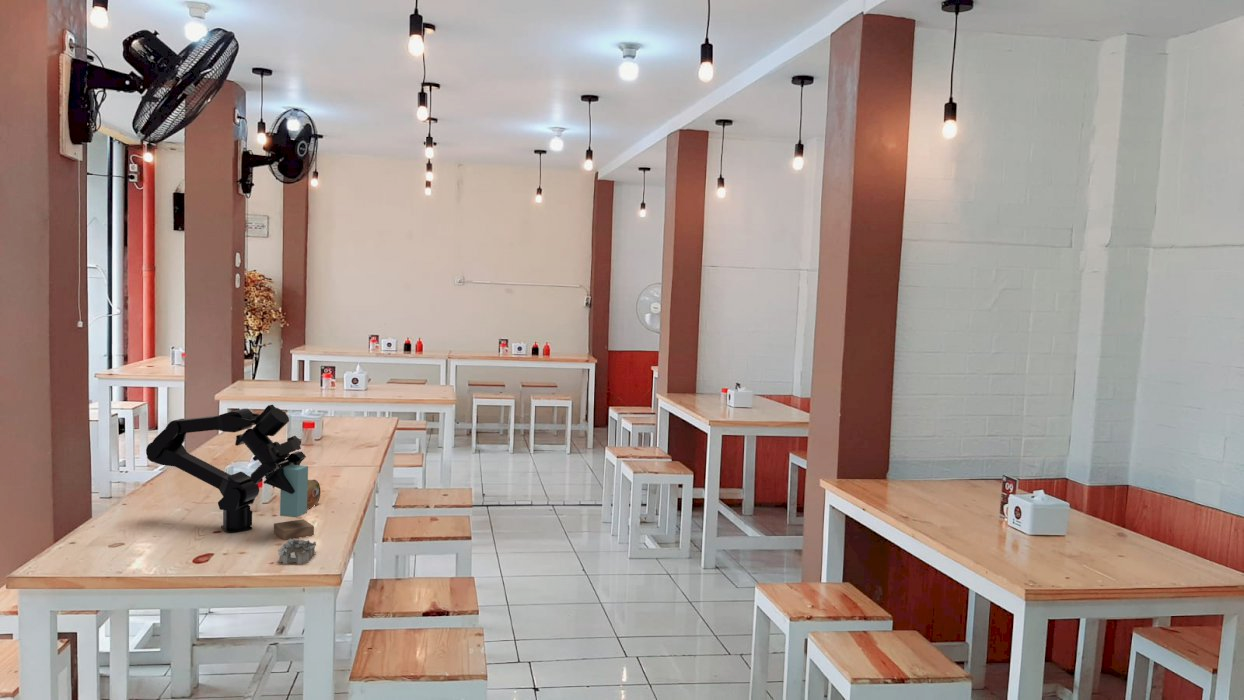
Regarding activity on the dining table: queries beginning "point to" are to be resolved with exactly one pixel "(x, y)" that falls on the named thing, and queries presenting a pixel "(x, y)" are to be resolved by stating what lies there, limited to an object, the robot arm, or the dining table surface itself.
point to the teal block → (298, 500)
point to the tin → (313, 493)
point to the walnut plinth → (293, 529)
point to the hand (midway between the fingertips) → (298, 490)
